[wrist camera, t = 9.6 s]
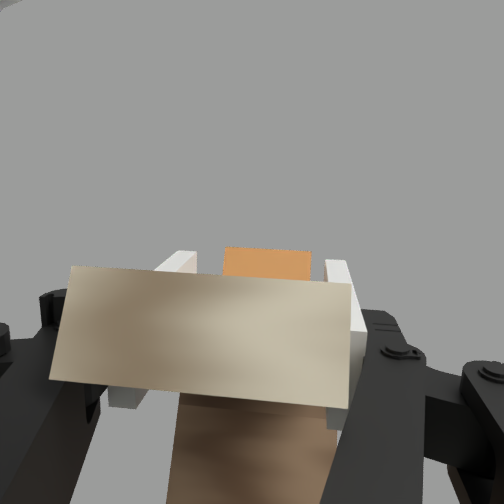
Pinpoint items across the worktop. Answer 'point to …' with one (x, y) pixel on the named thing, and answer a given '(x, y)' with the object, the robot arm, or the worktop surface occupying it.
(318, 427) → the stand
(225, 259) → the cube
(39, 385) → the robot arm
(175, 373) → the slat
